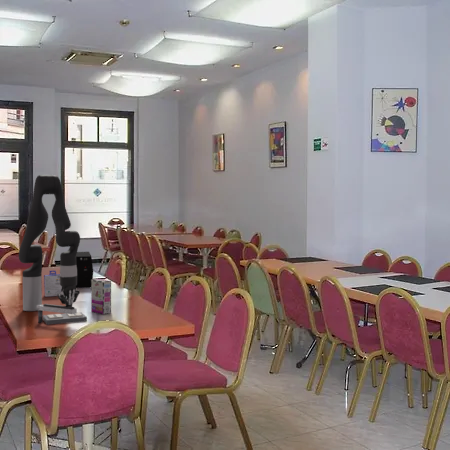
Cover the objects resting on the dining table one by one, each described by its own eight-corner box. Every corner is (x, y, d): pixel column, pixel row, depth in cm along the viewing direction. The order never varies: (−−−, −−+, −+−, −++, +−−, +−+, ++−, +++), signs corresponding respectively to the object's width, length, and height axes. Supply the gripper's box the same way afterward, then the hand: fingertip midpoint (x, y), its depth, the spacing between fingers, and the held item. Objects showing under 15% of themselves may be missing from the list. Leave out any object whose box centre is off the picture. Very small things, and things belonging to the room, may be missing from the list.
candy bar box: (111, 313, 295) (111, 280, 294) (103, 315, 291) (103, 281, 291) (99, 310, 303) (99, 278, 302) (90, 311, 299) (90, 279, 298)
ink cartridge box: (61, 294, 351) (61, 269, 350) (62, 295, 346) (62, 271, 345) (43, 295, 347) (43, 270, 346) (45, 296, 342) (44, 271, 341)
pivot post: (37, 322, 274) (37, 310, 274) (42, 321, 275) (42, 309, 275) (38, 323, 272) (38, 310, 272) (43, 322, 273) (42, 310, 273)
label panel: (42, 319, 280) (42, 313, 280) (81, 316, 288) (81, 310, 288) (47, 324, 269) (47, 318, 269) (86, 321, 277) (86, 315, 277)
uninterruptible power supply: (90, 280, 408) (90, 251, 407) (93, 288, 376) (93, 256, 375) (66, 281, 404) (65, 251, 403) (66, 289, 371) (66, 257, 370)
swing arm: (35, 309, 273) (35, 303, 273) (40, 308, 276) (40, 302, 275) (72, 314, 263) (71, 307, 263) (76, 312, 266) (76, 306, 266)
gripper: (71, 272, 277) (72, 309, 278) (51, 276, 265) (52, 314, 267) (84, 273, 274) (84, 310, 275) (65, 277, 262) (65, 316, 263)
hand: (69, 312), depth 271 cm, fingers closed
